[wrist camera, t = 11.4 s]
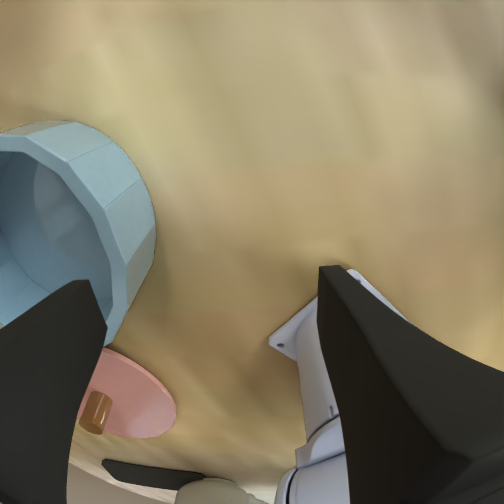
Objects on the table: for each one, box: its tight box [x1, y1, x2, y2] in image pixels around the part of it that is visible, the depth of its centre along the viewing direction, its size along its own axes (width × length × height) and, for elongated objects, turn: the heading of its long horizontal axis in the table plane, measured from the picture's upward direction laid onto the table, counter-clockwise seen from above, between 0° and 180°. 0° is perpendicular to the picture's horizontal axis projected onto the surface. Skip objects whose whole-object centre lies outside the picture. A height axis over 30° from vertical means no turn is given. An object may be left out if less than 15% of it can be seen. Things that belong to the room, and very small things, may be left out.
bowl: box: [0, 120, 156, 347], centre depth 16 cm, size 14×14×5 cm
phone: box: [102, 460, 204, 491], centre depth 36 cm, size 7×1×15 cm
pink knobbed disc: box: [77, 347, 177, 438], centre depth 24 cm, size 15×15×5 cm
